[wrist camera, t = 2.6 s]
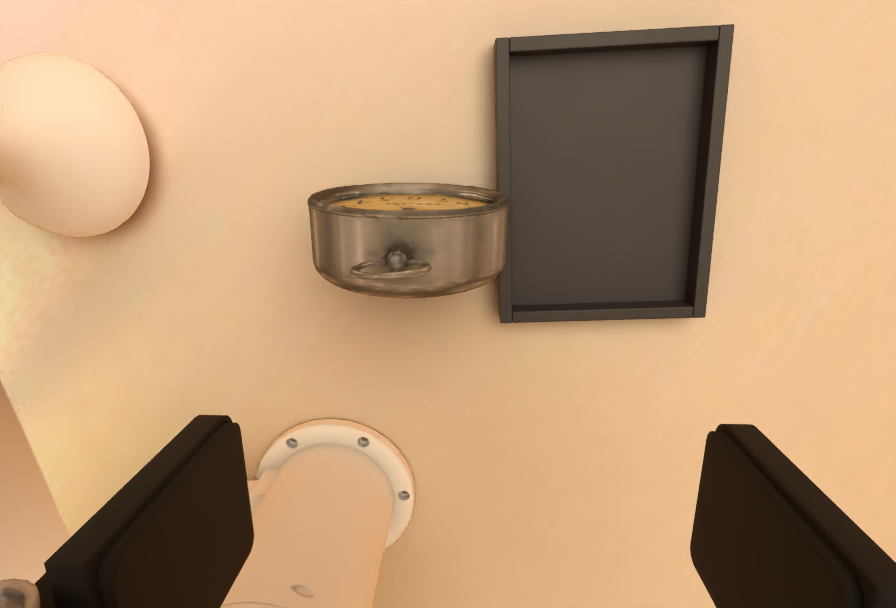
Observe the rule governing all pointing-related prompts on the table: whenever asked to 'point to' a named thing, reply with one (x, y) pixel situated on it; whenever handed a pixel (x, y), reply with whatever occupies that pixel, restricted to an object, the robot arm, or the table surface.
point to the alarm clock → (409, 238)
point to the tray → (610, 171)
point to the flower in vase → (68, 146)
